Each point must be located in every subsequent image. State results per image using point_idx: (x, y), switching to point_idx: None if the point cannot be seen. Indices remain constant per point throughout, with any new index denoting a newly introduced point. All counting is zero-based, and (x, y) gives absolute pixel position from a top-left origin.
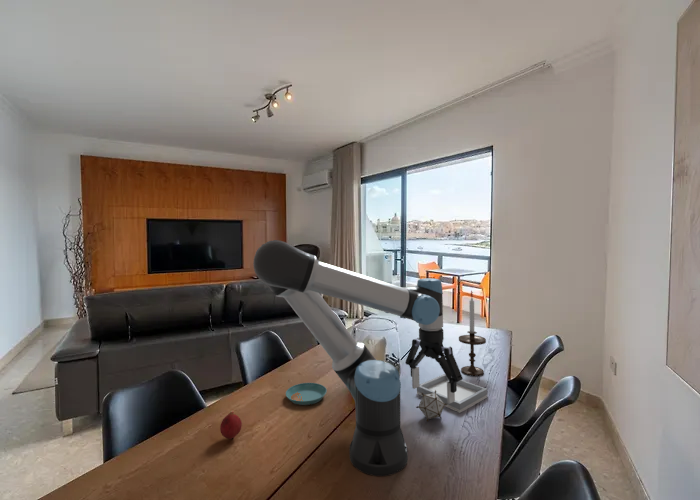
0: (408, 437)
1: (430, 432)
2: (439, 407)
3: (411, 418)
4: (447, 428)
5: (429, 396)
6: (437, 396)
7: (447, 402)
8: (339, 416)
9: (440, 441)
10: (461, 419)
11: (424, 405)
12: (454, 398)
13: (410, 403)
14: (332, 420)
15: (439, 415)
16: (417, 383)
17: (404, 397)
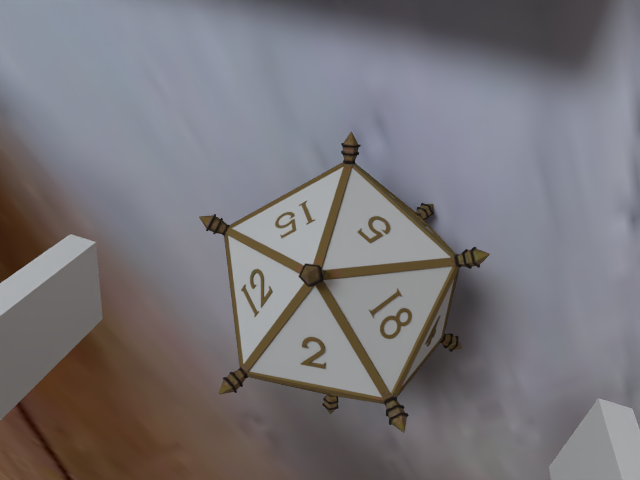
0: (347, 457)
1: (429, 384)
2: (433, 337)
3: None
4: (519, 302)
5: (309, 379)
6: (366, 298)
7: (550, 470)
8: (7, 424)
9: (518, 436)
10: (607, 113)
11: (314, 390)
12: (637, 439)
13: (113, 110)
14: (20, 455)
15: (453, 348)
16: (65, 298)
17: (10, 39)
